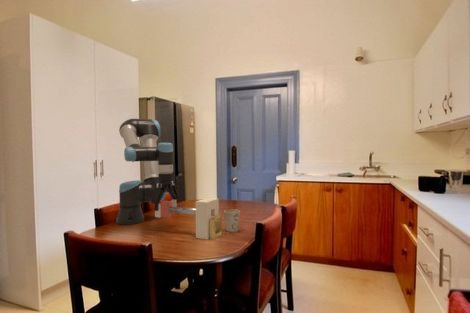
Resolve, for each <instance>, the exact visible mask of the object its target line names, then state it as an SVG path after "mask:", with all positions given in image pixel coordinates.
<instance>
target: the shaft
mask: <svg viewBox="0 0 470 313" xmlns="http://www.w3.org/2000/svg"><path fill="white" fill-rule="evenodd" d="M160 213H161V217H160V218H172V216H173V215H172V214H185V215H193V216H194V215H195V216H196V207H195V208H194V207H182V206H181V207H180V206H176V207H172V206H171V200H162V201H160Z"/></svg>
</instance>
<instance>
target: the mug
mask: <svg viewBox="0 0 470 313" xmlns="http://www.w3.org/2000/svg"><path fill="white" fill-rule="evenodd" d="M223 214H224V222H225V229H226V231H227V232H228V233H237V232H238V231H239V228H240V219H241V210H239V209H233V208H232V209H225V210H224V211H223Z"/></svg>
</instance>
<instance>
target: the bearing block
mask: <svg viewBox="0 0 470 313" xmlns="http://www.w3.org/2000/svg"><path fill="white" fill-rule="evenodd" d="M219 202H220V201H219V198H213V197H207V198H206V197H205V198H204V199H200V200H197V201H195V208H196V215H195V238H196V239H201V240H210V219H212V218H214V217H216V216H220V215H219V212H220V210H219V208H220V206H219V205H220V204H219ZM216 231H217V222H216V223H215V232H216Z"/></svg>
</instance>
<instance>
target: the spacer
mask: <svg viewBox="0 0 470 313" xmlns="http://www.w3.org/2000/svg"><path fill="white" fill-rule="evenodd" d="M216 222H217V231H216V232H215V223H216ZM222 234H223V216H222V215H219V216H216V217H214V218H212V219H210V238H209V240H215V239H216V238H218V237H219V236H221V235H222Z"/></svg>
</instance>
